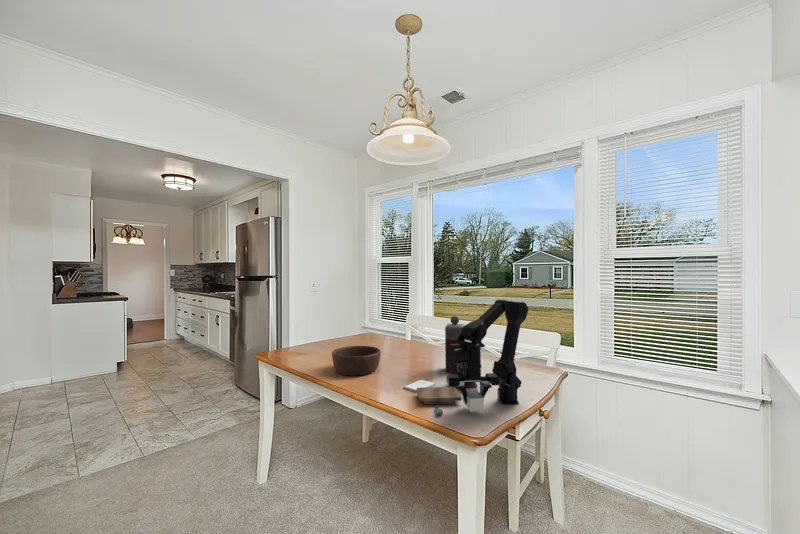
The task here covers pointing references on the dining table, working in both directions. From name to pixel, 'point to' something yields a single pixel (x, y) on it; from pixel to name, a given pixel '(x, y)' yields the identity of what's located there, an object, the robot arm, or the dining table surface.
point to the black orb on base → (454, 371)
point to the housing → (474, 400)
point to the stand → (438, 395)
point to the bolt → (438, 411)
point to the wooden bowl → (356, 360)
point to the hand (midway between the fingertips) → (473, 403)
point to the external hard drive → (418, 385)
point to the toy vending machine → (452, 335)
